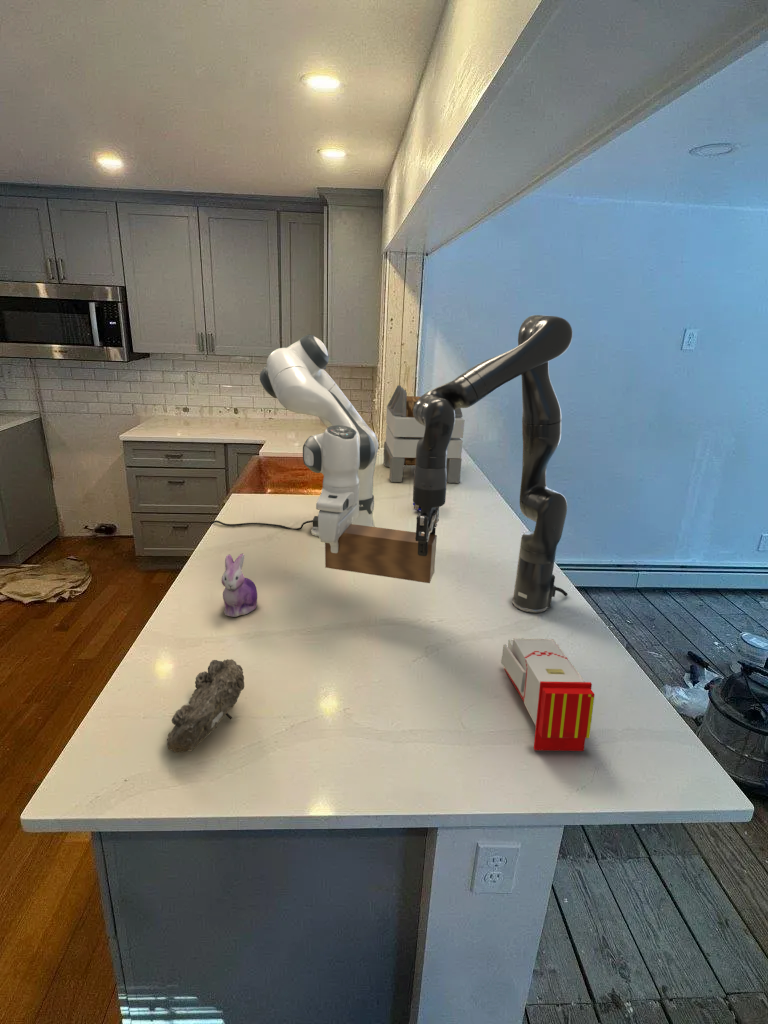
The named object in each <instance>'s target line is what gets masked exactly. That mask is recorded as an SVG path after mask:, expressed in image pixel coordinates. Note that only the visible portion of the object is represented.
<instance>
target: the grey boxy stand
mask: <svg viewBox="0 0 768 1024" xmlns="http://www.w3.org/2000/svg"><path fill="white" fill-rule="evenodd" d="M407 394H408V393H407V390H406V389H404V388H403V387H402V385H399V384H398V385H397V386H396V388H395V390H394V392H393V394H392V395H391V398H390V400H389V402H388V404H387V405H386V413H385V414H386V415H385V423H386V428H385V438H384V442H383V466H384V467H388V468H389V475H388V476H389V477H388V478H389V480H390V482H391V483H402V482H403V475H404V469H405V466H406V467H407V466H411V467H412V466H413V467H415V465H416V448H417V443H418V441H419V440H420V439H422V438H424V433H425V426H424V425H422V424H420V423H419V422H417V420H416V419H415V418H414V415H413V408H414V405H415V403H416V401H417V400H418V399H419V398H420V397H421V396H415V395H414V396H413V395H412V396H411V395H407ZM454 411H455V424H454V428H453V432H452V435H451V439H450V442H449V444H448V447H447V465H446V470H447V482H446V483H449V484H455V483H456V484H459V483H461V472H462V461H463V460H462V453H463V442H464V441H463V440H462V439H463V438H464V431H465V430H464V429H465V419H464V418H463V411H462V408H458V409H455V410H454Z"/></svg>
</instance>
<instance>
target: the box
mask: <svg viewBox="0 0 768 1024" xmlns="http://www.w3.org/2000/svg"><path fill="white" fill-rule="evenodd" d="M421 536H424V532H421ZM415 537H416V531H410V530H409V531H408V530H401V529H393V528H387V527H378V526H374V527H371V526H363V525H355V524H351V525H350V526H349V527H348V528H347V529H346V530H345V531H344V532H343V534H342V535H341V536H340V537H339V540H338V545H340V547H339V551H338V553H332V552H331V546H330V543H324V557H325V558H324V565H325V566H324V568H325V569H331V570H338V571H345V572H351V573H358V574H359V573H360V574H366V575H372V576H379V577H385V578H392V579H398V580H405V581H406V580H407V581H412V582H419V583H424V584H430V583H431V581H432V579H433V576H434V574H435V569H436V567H435V566H436V553H437V539H438V535H437V534H435V535H432V534H429V540H428V554H427V556H419V555H418V541H416V539H415Z"/></svg>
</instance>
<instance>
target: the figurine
mask: <svg viewBox="0 0 768 1024" xmlns="http://www.w3.org/2000/svg"><path fill="white" fill-rule="evenodd" d="M244 563H245V554H244V553H240V554H239V555H238V556H237V558H236V559H235V560H234V558H233V557H232V555H231V554H227V555H226V556H225V560H224V564H225V565H224V566H225V567H224V568H225V570H224V572H223V574H222V576H221V579H220V580H221V584H222V586H223V587H224V589H223V591H222V599H223V603H224V611H223V613H224V615H225V616H228V617H234V618H236V617H239V616H245V615H248V614H249V613H251V612H253V611H254V610H256V609H257V606H258V590H257V589H258V588H257V586H256V584H255V583H254V581H253V580H252V579H250V578H248V577H245V575H244V573H243V571H242V569H243V566H244Z"/></svg>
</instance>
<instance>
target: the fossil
mask: <svg viewBox="0 0 768 1024" xmlns="http://www.w3.org/2000/svg"><path fill="white" fill-rule="evenodd" d="M243 670H244V669H243V667H242V665H240V664H237V662H236V661H235V660H234V659H232V658H231V659H227V658H226V659H224V660H223V661H222V660H217V659H212V660H211V661H210V663H209V665H208V666H207V671H201V672H199V673H198V674H197V675H196V676H195V680H194V684H195V685H194V687H195V689H194V690H193V693H192V694H191V697H190V698H189V700H188V704H184V705H182V706H181V707H180V709H177V710H176V711H175V713H174V715H173V716H172V718H171V723H172V724H173V727H172V730H171V731H170V732H168V734H167V738H166V741H167V742H166V745H167V749H168V750H169V751H173V752H174V753H176V754H178V753H182V752H188V751H189V752H192V751H193V750H195V748H196V747H197V746H199V744H200V743H201V742H203V741H204V740H205V739H206V738H207V737H208V736H209V735H210V734H211V733H212V732H214V730H215V729H217V727H218V726H219V724H220V722H221V721H222V720H223V719H224V718H225V716H226V717H227V719H229V720H233V717H232V715H230V714H229V710H230V709H231V708H234V706H235V704H236V703H237V702H238V699H239V697H240V695H241V693H242V691H243V690H245V689H244V688H245V675H244V671H243Z"/></svg>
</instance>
